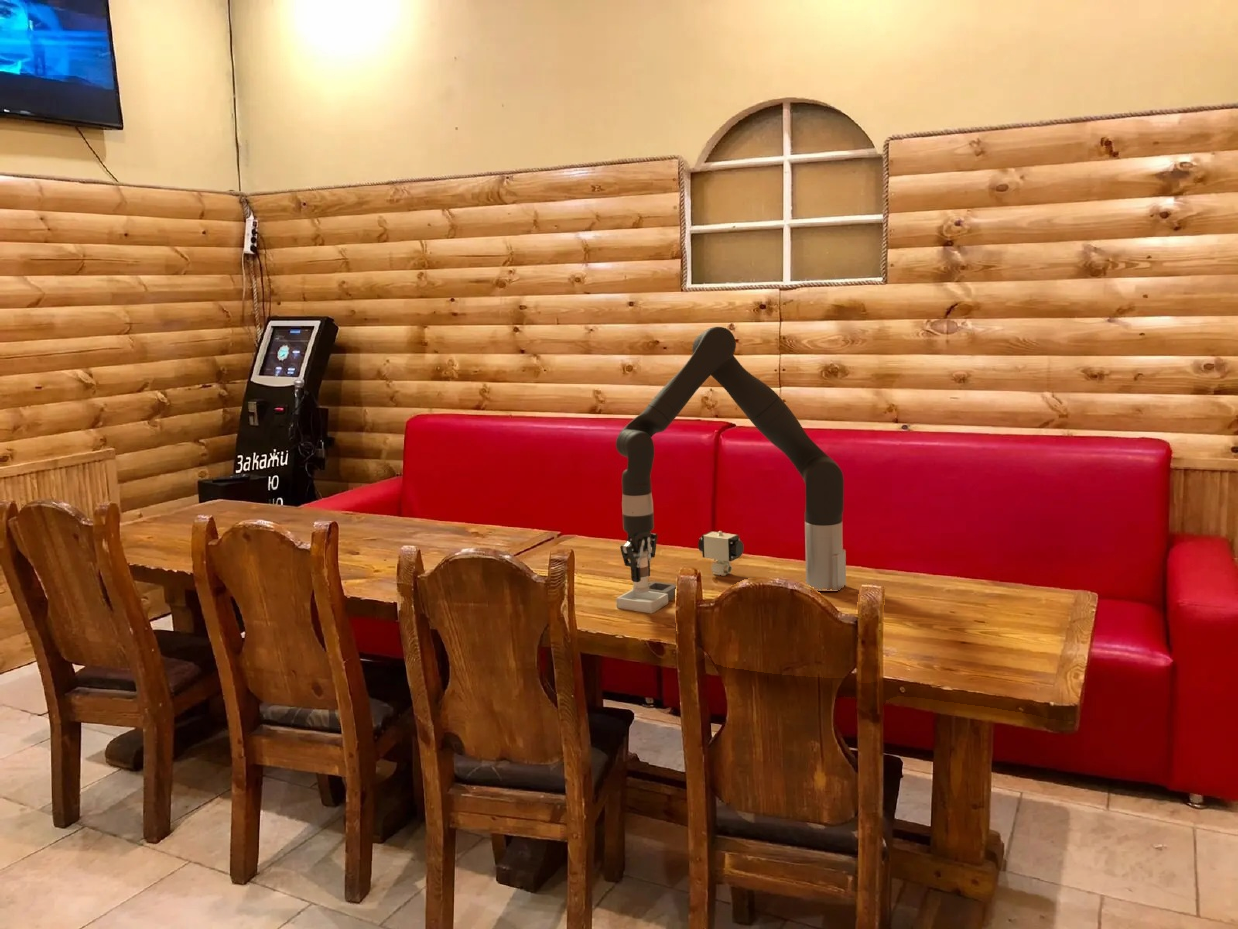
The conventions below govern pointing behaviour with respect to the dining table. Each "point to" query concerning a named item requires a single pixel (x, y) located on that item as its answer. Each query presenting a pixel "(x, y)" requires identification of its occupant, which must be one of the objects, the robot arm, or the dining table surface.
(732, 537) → the pneumatic valve
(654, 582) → the dark gray recessed holder
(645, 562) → the fuse
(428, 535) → the dining table surface
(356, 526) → the dining table surface
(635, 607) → the tray
